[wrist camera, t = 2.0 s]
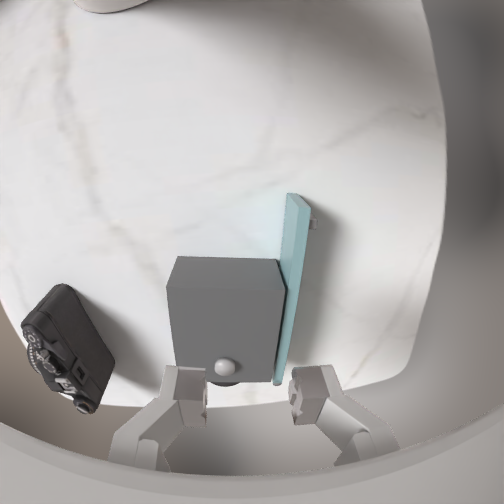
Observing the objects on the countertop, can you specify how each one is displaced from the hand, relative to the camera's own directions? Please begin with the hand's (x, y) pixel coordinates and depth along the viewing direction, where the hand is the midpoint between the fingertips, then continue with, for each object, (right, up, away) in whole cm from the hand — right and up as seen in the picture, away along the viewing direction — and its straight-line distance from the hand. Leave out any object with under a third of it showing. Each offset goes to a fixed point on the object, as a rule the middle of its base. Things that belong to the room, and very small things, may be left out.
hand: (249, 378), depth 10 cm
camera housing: (-3, -1, +21) cm, 22 cm away
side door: (+4, +1, +20) cm, 21 cm away
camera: (-25, -6, +22) cm, 34 cm away
